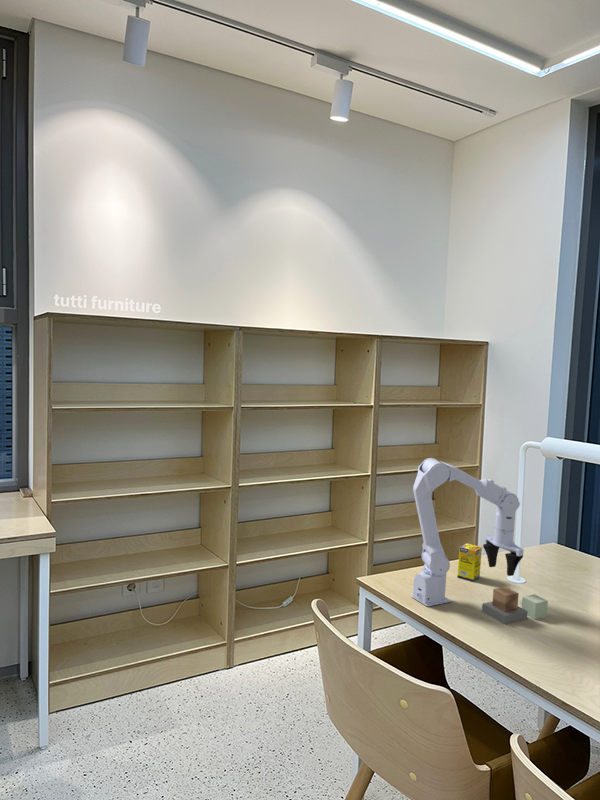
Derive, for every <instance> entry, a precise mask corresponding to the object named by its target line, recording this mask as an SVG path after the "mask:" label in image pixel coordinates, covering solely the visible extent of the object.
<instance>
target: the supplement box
mask: <svg viewBox="0 0 600 800" xmlns="http://www.w3.org/2000/svg"><path fill="white" fill-rule="evenodd" d="M482 550H483V547H482V546H479V545H474V544H472V543H468V542H467V543H464V544H463V545H461V546H459V551H458V552H459V553H458V566H457V567H458V568H457V578H458V579H463V580H465V581H469V582H473V583H474V582H475V581H476V580H477V579H479V578H480V576H481V563H482V560H481V559H482Z"/></svg>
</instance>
